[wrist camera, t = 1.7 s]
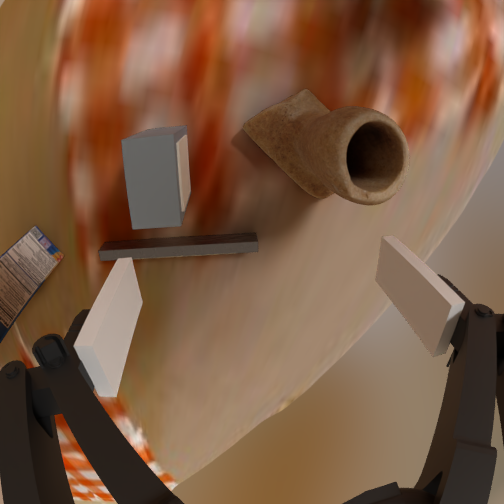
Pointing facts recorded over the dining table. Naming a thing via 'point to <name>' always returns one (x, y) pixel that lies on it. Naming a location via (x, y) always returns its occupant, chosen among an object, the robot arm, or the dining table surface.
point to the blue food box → (24, 274)
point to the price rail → (180, 246)
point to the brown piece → (333, 148)
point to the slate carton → (157, 176)
